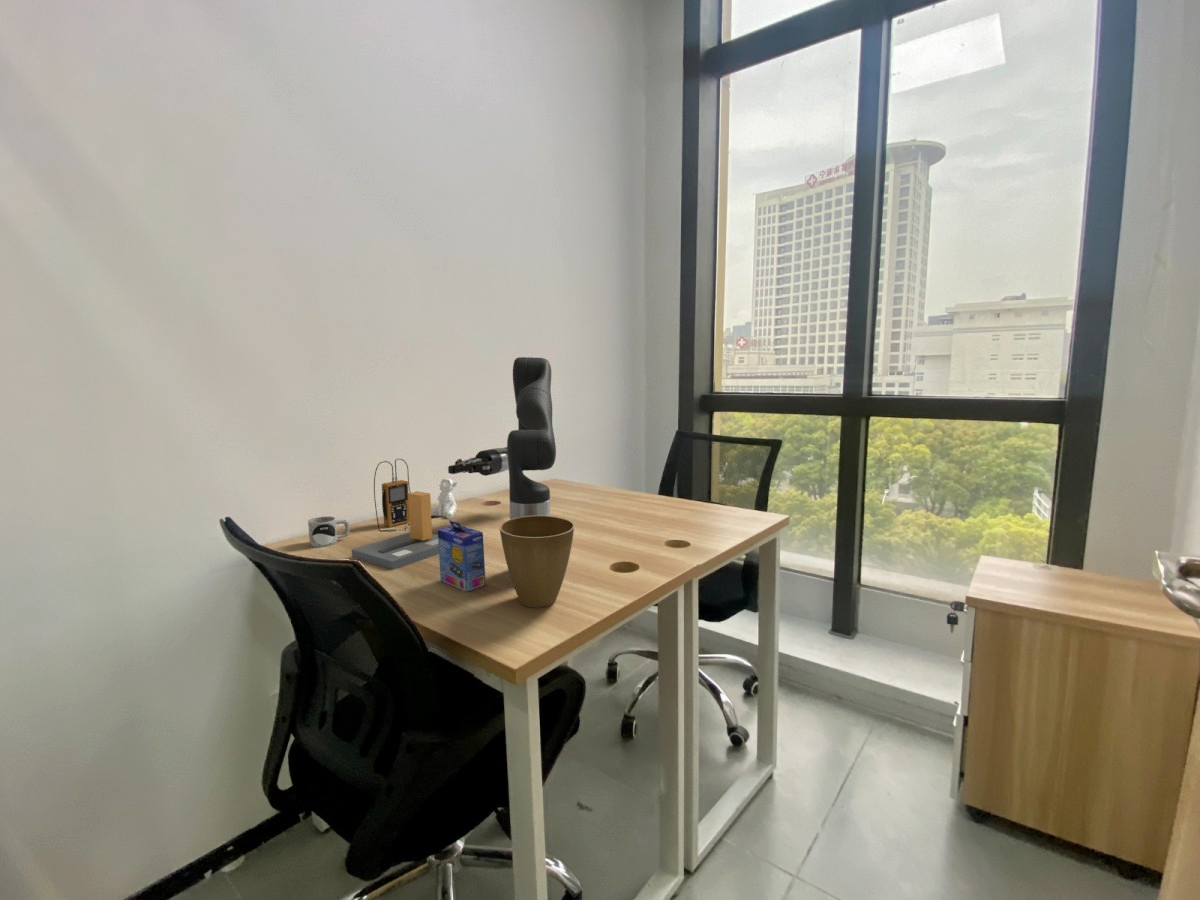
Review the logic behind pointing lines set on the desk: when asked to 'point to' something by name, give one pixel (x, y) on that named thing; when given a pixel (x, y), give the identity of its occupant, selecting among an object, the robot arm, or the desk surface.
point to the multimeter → (394, 501)
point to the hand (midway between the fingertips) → (450, 470)
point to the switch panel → (397, 551)
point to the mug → (325, 531)
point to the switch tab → (420, 515)
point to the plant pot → (537, 556)
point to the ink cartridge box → (461, 557)
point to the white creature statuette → (445, 500)
